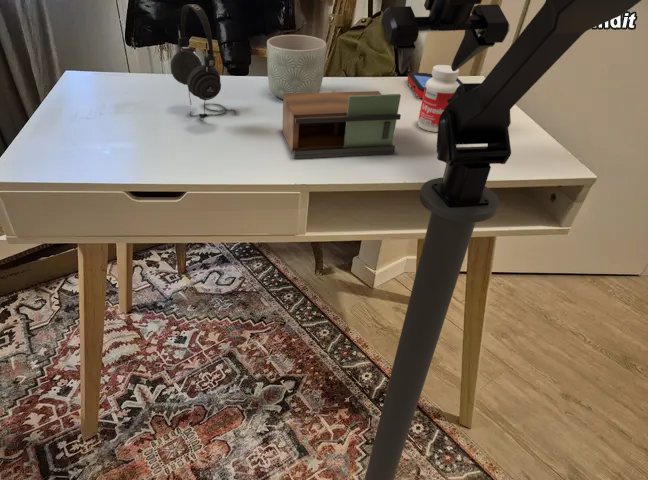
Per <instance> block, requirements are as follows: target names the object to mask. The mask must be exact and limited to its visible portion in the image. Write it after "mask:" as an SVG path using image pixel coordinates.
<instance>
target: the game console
mask: <svg viewBox="0 0 648 480" xmlns="http://www.w3.org/2000/svg"><path fill="white" fill-rule="evenodd" d="M432 77H433V76H432V73H427V72H418V71H411V72H409V73H407V82H408V84H409V85H410V87H411V88H412V90H413V91H414V93H415V94H416V96H417V98H419V99H420V100H421V99H423V95H424V90H425V85H426V82H427V81H428V80H429V79H430V78H432ZM456 81H457V82H458V84H459V86H460V85H461V84H463V82H462V81H461V79H459V77H458V78H457V79H456Z"/></svg>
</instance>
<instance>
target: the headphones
mask: <svg viewBox="0 0 648 480" xmlns="http://www.w3.org/2000/svg"><path fill="white" fill-rule="evenodd" d="M190 9H191V10H193V12H194V13H195V14H196V15H197V17H198V19H199V20H200V22H201V25H202V27H203V30H204V34H205V37H206V42H205V56H204V58H203V59H204V64H203V63H202V61H201V59H200V57H199V56H198V55H197V54H196V53H195V52H193V51H191V50H188V49H183V48H188V47H189V39H188V37H186V20H187V15H188V12H189V10H190ZM177 31H178V38H177V43H178V48H180V51H178V52H176V53H175V54H174V55H173V56H172V58H171V60H170V73H171V75H172V77H173V78H174V80H176V82H178V83H179V84H182V85H184V86H185V85H187V89H188V97H189V98H191V95H190V94H192V95H193V96H194V97H196V98H199V99H200V100H201V101H204V103H203V113H199V114H195V115H192V112H190V113H189V116H190V117H198V116H199V121H201V122H203V121H204V120H205V117H208V116H212V114H207V113H205V112H206V110H209V111H211V112H212V111H213V112H217V109H215V110H214V109H210V108H207V107H206V105H208V103H206V101H209V100H213V99H214V98H216V97H217V96H218V95H219V94H220V92H221V89H222V83H221V76H220V73H219V71H218V69H216V67H215V66H216V56H215V55H214V45H213V44H214V43H213V38H212V37H213V35H212V30H211V26H210V21H209V19H208V15H207V13H206V12H205V10H204V9H203V7H201V6H200V5H199V4H196V3H194V4H193V3H192V4H191V3H190V4H184V5H183V6H182V8H181V11H180V24H179V23H177ZM189 103H190V104H192V99H189ZM215 105H216V106H221V107H222V108H223V109H222V110H221V112H223V113H219V114H216V116H220V115H224V114H225V113H226V112H227V109H226V108H225V107H224V106H223V105H221V104H217V103H214V106H215ZM232 111H233V112H234V115H236V114H237V112H236V111H235V109H232ZM201 118H202V119H201Z"/></svg>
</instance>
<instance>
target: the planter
mask: <svg viewBox="0 0 648 480" xmlns="http://www.w3.org/2000/svg"><path fill="white" fill-rule="evenodd" d="M326 54H327V42H326V40H324V39H322V38H320V37H316V36H311V35H305V34H282V35H275V36H273V37H270V38H268V39H267V41H266V60H267V63H266V64H267V66H266V67H267V68H266V69H267V80H268V81H267V83H268V87H269V90H270V92H271V93H272V94H273V95H274V96H275V97H276V98H278V99H281V100H283V94H298V93H320V91H321V88H322V85H323V79H324V72H325V64H326Z"/></svg>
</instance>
